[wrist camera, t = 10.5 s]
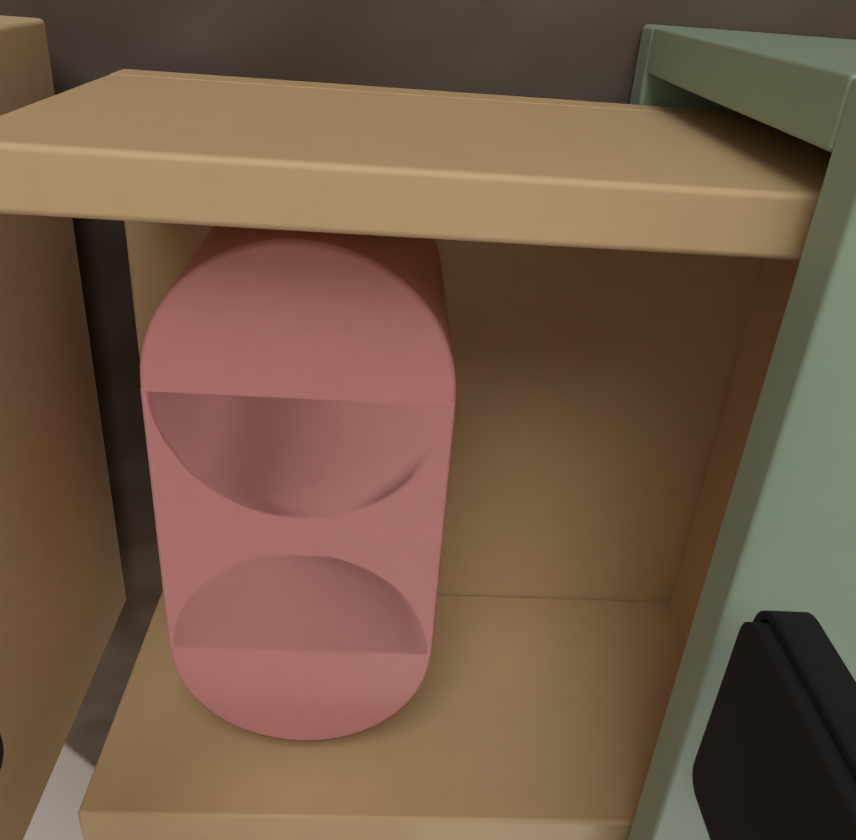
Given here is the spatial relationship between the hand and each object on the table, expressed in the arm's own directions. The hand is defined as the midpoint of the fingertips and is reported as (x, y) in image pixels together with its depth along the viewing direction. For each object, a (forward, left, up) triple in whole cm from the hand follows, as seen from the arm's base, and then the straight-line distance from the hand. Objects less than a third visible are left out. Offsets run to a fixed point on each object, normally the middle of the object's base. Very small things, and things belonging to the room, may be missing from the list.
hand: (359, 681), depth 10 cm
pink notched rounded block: (0, -1, -8) cm, 8 cm away
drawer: (0, -2, -9) cm, 9 cm away
